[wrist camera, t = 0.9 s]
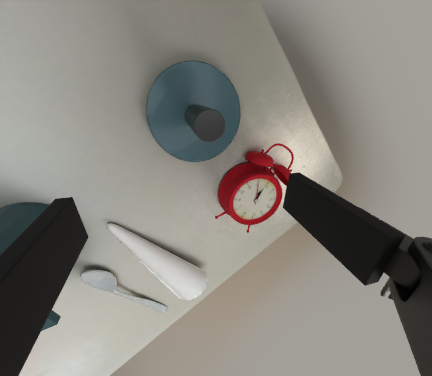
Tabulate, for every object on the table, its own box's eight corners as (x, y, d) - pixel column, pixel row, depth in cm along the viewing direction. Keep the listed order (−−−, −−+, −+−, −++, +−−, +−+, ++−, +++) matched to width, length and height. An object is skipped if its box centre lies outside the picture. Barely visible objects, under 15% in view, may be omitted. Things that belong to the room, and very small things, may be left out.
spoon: (94, 259, 31) (90, 267, 30) (173, 305, 42) (174, 312, 40) (75, 273, 32) (71, 281, 30) (158, 315, 42) (158, 323, 41)
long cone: (141, 196, 30) (207, 265, 38) (111, 216, 31) (181, 279, 39) (131, 216, 25) (209, 290, 33) (95, 239, 26) (180, 306, 34)
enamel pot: (37, 172, 24) (-29, 215, 15) (108, 258, 32) (90, 315, 24) (-61, 204, 23) (-187, 268, 14) (40, 284, 31) (-4, 354, 23)
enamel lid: (226, 49, 23) (260, 27, 15) (244, 144, 29) (275, 163, 21) (129, 78, 22) (110, 70, 14) (168, 170, 28) (172, 201, 20)
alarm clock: (206, 219, 29) (277, 143, 23) (203, 194, 34) (261, 125, 27) (254, 239, 34) (324, 180, 27) (245, 214, 39) (303, 159, 32)
